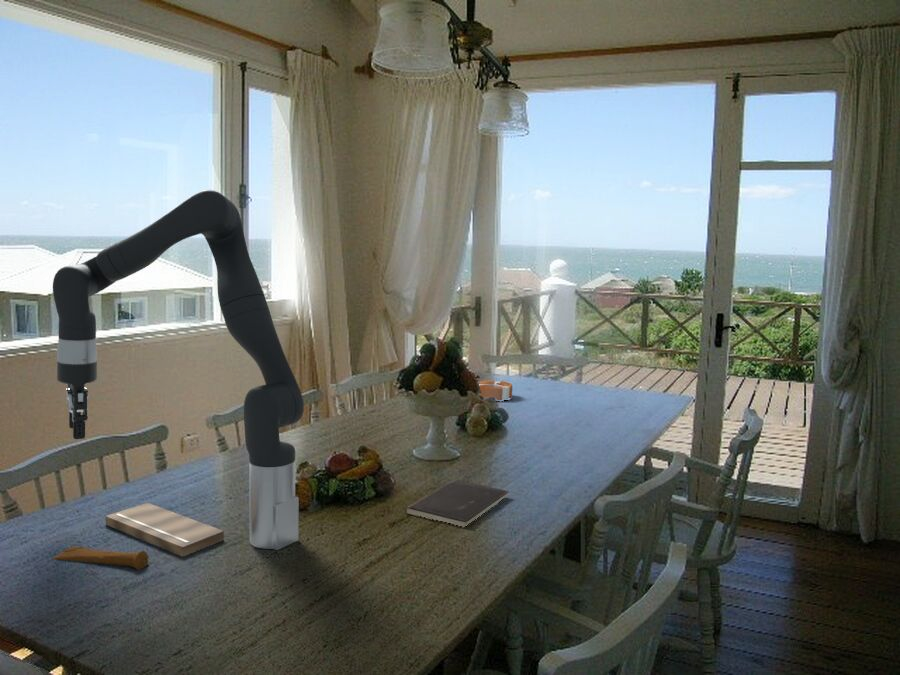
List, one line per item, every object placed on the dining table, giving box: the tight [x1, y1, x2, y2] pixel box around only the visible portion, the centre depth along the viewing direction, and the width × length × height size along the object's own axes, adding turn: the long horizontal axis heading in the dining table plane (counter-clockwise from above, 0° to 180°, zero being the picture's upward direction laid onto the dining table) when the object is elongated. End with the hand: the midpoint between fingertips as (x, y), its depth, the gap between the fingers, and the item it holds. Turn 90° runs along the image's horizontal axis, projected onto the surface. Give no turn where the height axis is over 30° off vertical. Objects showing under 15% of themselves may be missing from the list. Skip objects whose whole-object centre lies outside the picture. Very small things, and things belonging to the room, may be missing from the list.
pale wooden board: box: [105, 502, 225, 558], centre depth 152 cm, size 26×10×2 cm, turn 57°
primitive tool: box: [52, 546, 149, 571], centre depth 139 cm, size 19×6×4 cm, turn 77°
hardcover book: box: [404, 479, 510, 528], centre depth 174 cm, size 16×23×2 cm
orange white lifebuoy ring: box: [479, 378, 513, 400], centre depth 292 cm, size 7×15×15 cm
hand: (76, 433), depth 155 cm, fingers open, 8 cm apart
